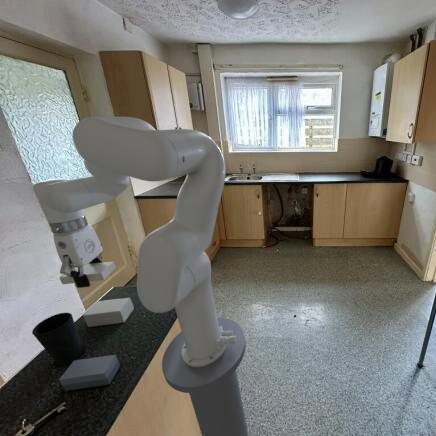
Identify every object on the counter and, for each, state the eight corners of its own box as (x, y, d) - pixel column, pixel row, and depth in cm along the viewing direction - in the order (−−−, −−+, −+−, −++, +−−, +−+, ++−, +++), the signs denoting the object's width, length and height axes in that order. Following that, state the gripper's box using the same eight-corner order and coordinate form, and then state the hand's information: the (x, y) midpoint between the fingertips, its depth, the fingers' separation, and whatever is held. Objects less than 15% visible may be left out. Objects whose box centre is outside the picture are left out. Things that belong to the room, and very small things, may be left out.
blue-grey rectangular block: (120, 365, 63) (118, 360, 62) (109, 384, 58) (106, 378, 57) (79, 371, 62) (76, 366, 61) (65, 391, 57) (61, 385, 56)
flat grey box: (116, 267, 74) (113, 261, 73) (104, 280, 68) (101, 273, 67) (78, 271, 73) (75, 265, 72) (62, 284, 67) (58, 277, 66)
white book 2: (134, 308, 83) (132, 302, 82) (124, 322, 77) (122, 316, 76) (100, 312, 82) (98, 306, 81) (88, 327, 76) (85, 321, 75)
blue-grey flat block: (118, 360, 62) (115, 354, 61) (106, 378, 57) (104, 373, 57) (76, 366, 61) (73, 360, 60) (61, 385, 56) (58, 379, 56)
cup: (91, 340, 71) (76, 308, 67) (82, 361, 64) (65, 327, 60) (58, 350, 68) (40, 318, 64) (46, 373, 61) (25, 339, 57)
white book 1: (132, 302, 82) (130, 297, 81) (122, 316, 76) (120, 310, 75) (98, 306, 81) (95, 301, 80) (85, 321, 75) (82, 315, 74)
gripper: (60, 236, 57) (86, 296, 64) (103, 212, 73) (120, 262, 80) (25, 239, 56) (56, 300, 63) (77, 215, 72) (96, 265, 79)
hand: (92, 278), depth 71 cm, fingers closed on flat grey box, 6 cm apart
